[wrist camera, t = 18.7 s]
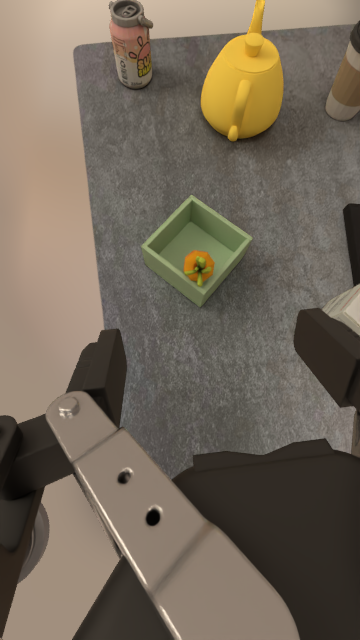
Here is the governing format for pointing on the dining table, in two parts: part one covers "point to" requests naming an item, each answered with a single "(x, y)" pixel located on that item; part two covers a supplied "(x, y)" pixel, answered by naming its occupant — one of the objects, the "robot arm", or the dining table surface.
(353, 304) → the ink box
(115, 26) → the beverage can
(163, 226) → the bin
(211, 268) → the carrot
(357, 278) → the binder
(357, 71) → the coffee cup
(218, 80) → the teapot
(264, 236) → the dining table surface
